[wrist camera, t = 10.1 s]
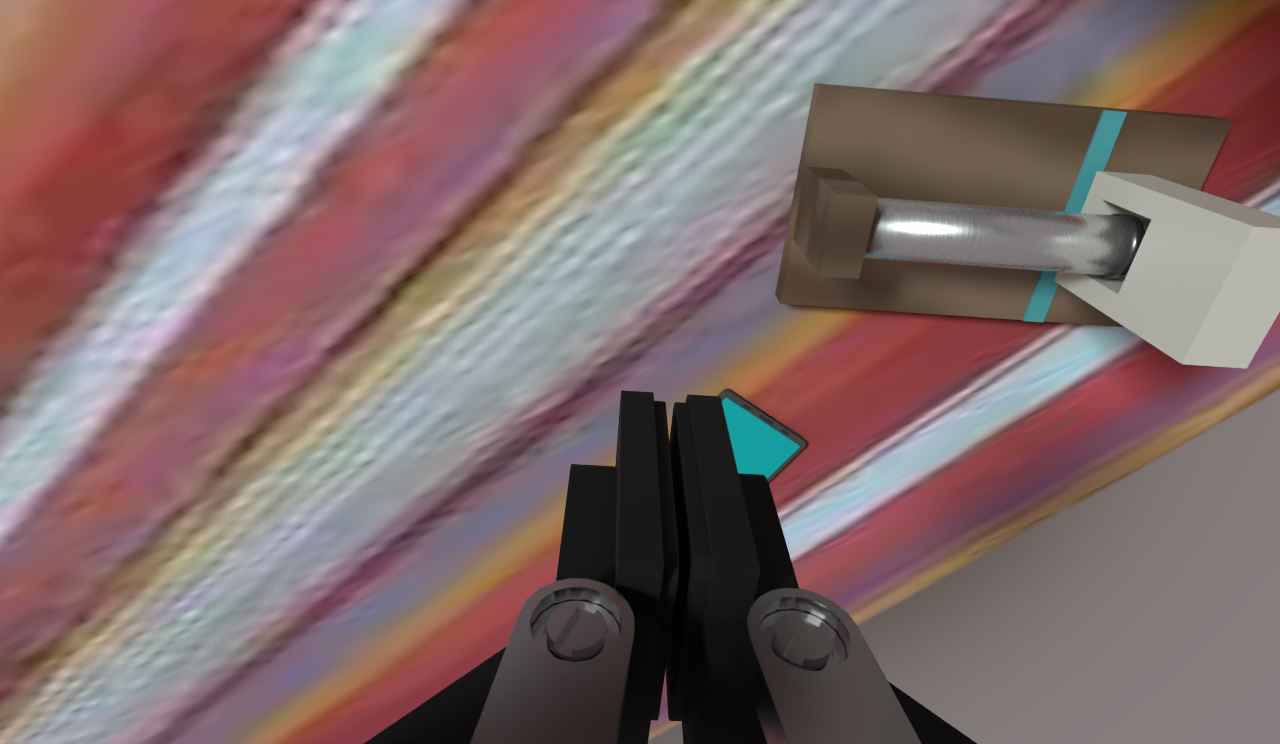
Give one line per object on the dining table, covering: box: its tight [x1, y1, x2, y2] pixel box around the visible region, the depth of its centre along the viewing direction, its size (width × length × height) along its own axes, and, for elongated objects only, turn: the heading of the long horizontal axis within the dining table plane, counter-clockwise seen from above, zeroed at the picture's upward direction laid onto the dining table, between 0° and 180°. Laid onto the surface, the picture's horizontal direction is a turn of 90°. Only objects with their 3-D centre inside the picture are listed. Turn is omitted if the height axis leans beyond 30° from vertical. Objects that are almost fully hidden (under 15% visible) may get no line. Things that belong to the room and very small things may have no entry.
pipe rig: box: [775, 83, 1233, 327], centre depth 36 cm, size 12×22×8 cm, turn 86°
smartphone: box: [718, 389, 806, 482], centre depth 48 cm, size 7×1×15 cm
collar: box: [1054, 171, 1280, 368], centre depth 33 cm, size 6×3×10 cm, turn 176°
